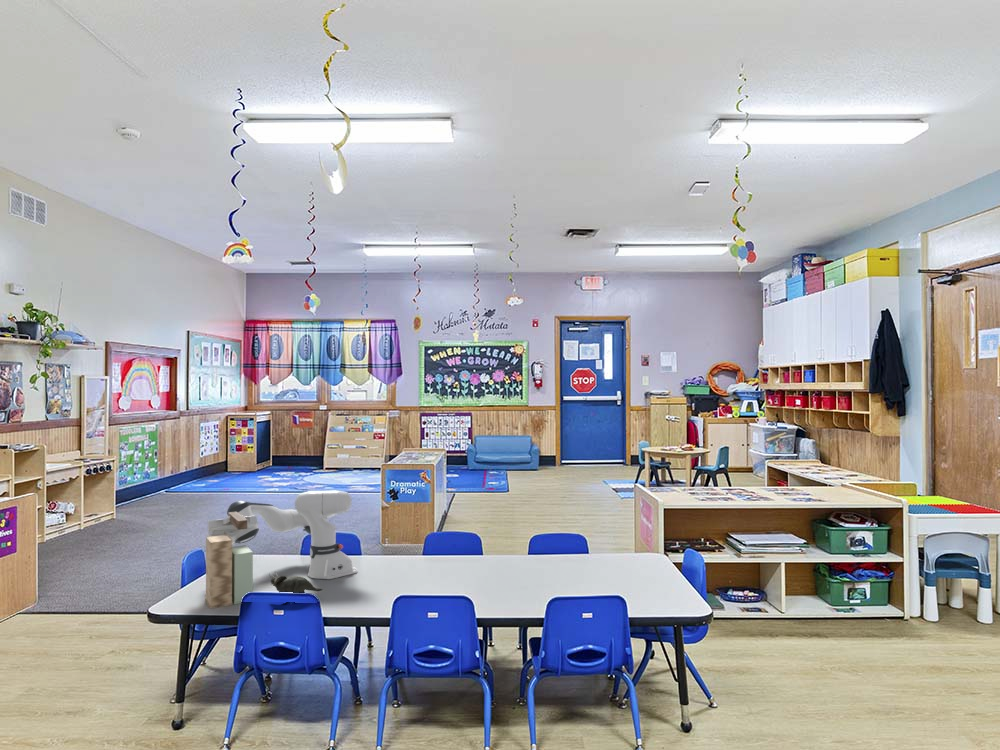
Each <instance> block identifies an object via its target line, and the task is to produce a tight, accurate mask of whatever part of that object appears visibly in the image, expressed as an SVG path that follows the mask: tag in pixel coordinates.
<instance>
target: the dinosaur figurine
mask: <svg viewBox="0 0 1000 750" xmlns="http://www.w3.org/2000/svg"><path fill="white" fill-rule="evenodd" d="M274 573H275V576H274V575H273V574H272V575H271V573H270V572H269V573H268V575H269V577H271V578H270V583H271V585H272V587H275V588H276V591H278V592H279V593H280V592H293V593H299V594H300V593H306V592H305V591H313V592H320V591H323V588H317V587H315V586H314V585H313V584H312V583H311V582H310V581H309V580H308V579H307V578H306V577H303V576H297V575H296V576H291V577H289V578H288V577H287V576H286V575H281V576H279V575H278V573H277V572H276V571H274Z"/></svg>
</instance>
